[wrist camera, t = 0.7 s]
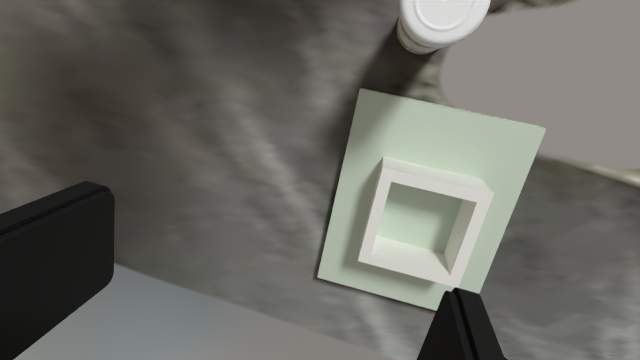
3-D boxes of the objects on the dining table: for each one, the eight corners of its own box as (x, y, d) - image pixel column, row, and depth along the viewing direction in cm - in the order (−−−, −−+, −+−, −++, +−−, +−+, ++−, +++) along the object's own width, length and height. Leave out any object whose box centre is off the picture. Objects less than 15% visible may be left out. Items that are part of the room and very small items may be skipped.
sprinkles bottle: (459, 8, 30) (511, -37, 17) (436, 62, 31) (468, 58, 19) (407, -10, 30) (421, -67, 18) (387, 45, 32) (386, 29, 19)
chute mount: (361, 87, 33) (356, 91, 28) (539, 126, 31) (568, 137, 26) (319, 270, 40) (309, 300, 35) (465, 310, 38) (477, 348, 33)
